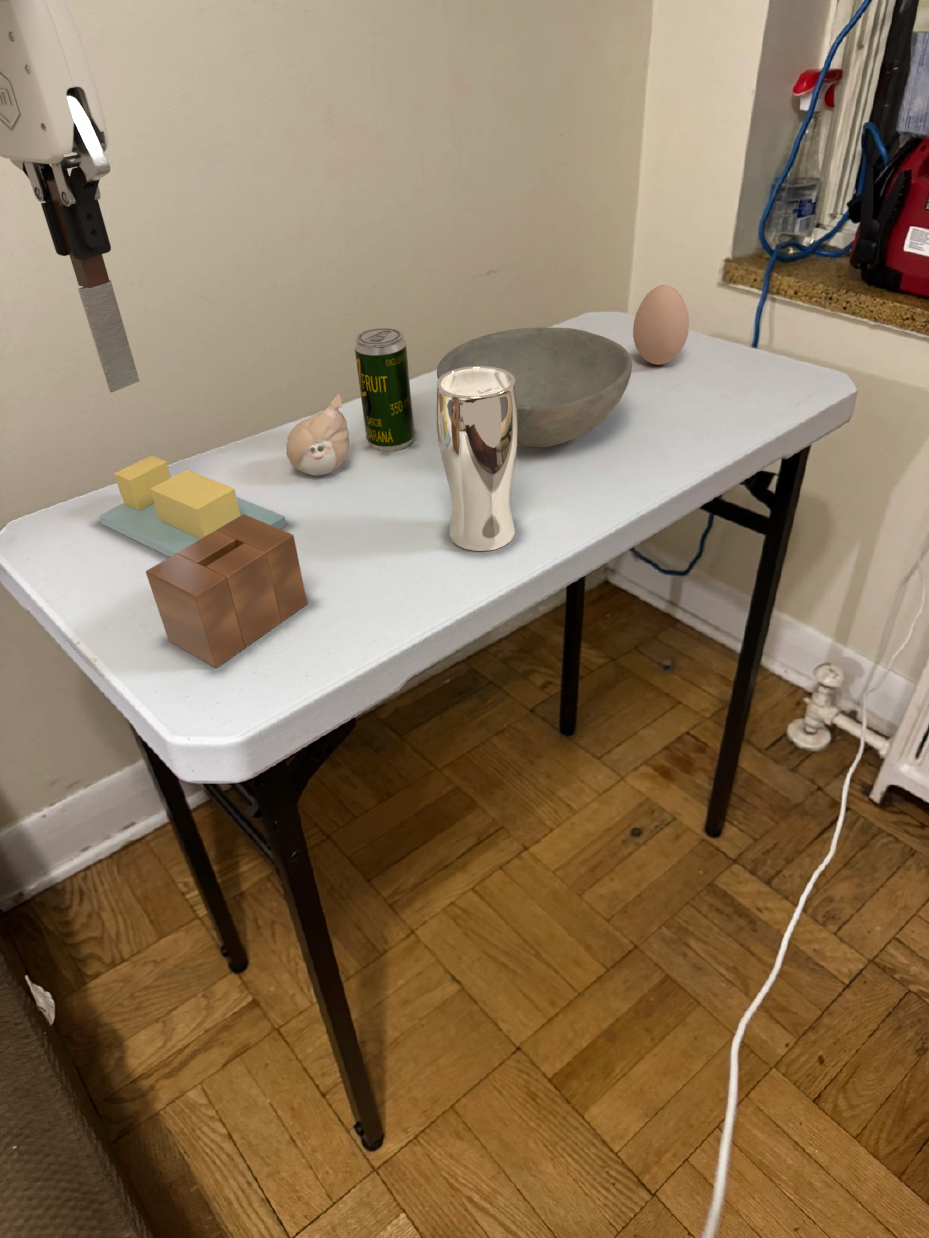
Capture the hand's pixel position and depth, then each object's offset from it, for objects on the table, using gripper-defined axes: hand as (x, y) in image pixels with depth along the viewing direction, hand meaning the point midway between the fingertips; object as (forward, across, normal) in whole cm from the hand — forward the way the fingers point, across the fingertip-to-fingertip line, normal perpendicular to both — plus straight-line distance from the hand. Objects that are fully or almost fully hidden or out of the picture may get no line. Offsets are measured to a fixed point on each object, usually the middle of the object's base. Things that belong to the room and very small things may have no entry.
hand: (84, 252), depth 71 cm
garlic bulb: (+25, +7, +16) cm, 31 cm away
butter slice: (+24, -3, +1) cm, 24 cm away
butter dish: (+25, +4, +1) cm, 25 cm away
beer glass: (+25, +29, +15) cm, 41 cm away
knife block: (+25, +20, -7) cm, 33 cm away
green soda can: (+25, +9, +25) cm, 36 cm away
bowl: (+25, +21, +36) cm, 48 cm away
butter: (+24, +5, +1) cm, 25 cm away
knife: (+12, 0, 0) cm, 12 cm away
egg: (+25, +24, +60) cm, 69 cm away
